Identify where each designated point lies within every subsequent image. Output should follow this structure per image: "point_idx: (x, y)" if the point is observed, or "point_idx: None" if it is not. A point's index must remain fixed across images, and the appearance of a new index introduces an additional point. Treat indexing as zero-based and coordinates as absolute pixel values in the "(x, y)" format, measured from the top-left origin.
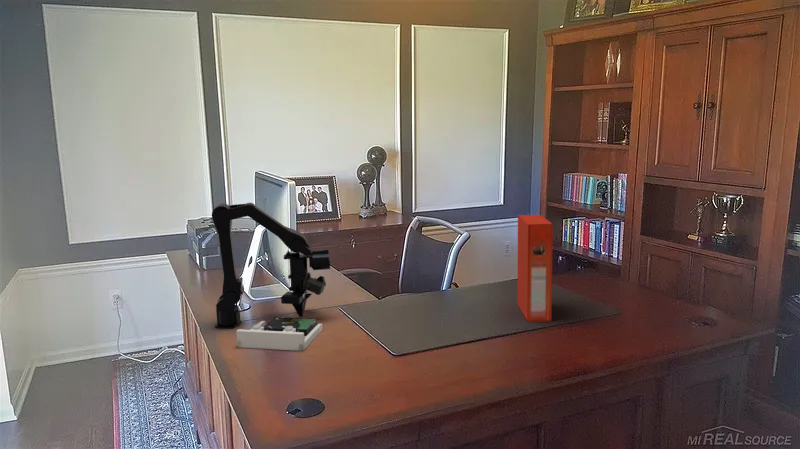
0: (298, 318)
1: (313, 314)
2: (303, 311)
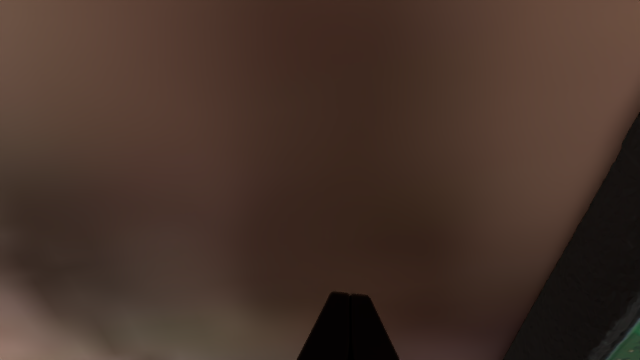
0: (608, 346)
1: (104, 164)
2: (346, 355)
